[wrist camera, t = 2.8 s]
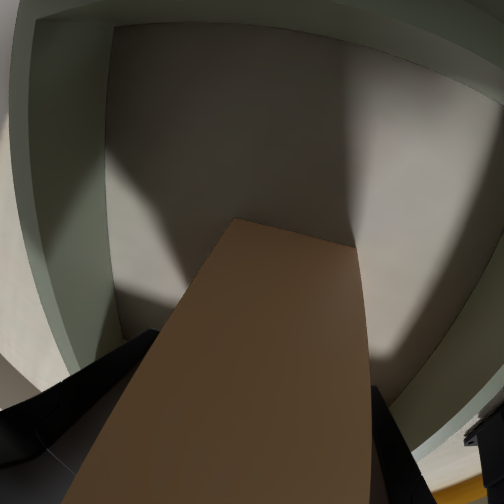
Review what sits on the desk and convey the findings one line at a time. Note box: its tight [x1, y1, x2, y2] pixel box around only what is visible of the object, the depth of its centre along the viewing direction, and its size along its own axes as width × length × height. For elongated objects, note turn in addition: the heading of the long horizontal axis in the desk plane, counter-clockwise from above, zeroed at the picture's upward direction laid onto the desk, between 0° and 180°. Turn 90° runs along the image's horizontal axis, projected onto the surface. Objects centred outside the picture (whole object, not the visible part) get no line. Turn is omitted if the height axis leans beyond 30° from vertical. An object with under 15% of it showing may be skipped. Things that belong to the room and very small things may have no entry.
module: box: [61, 218, 372, 504], centre depth 7 cm, size 4×6×10 cm, turn 171°
